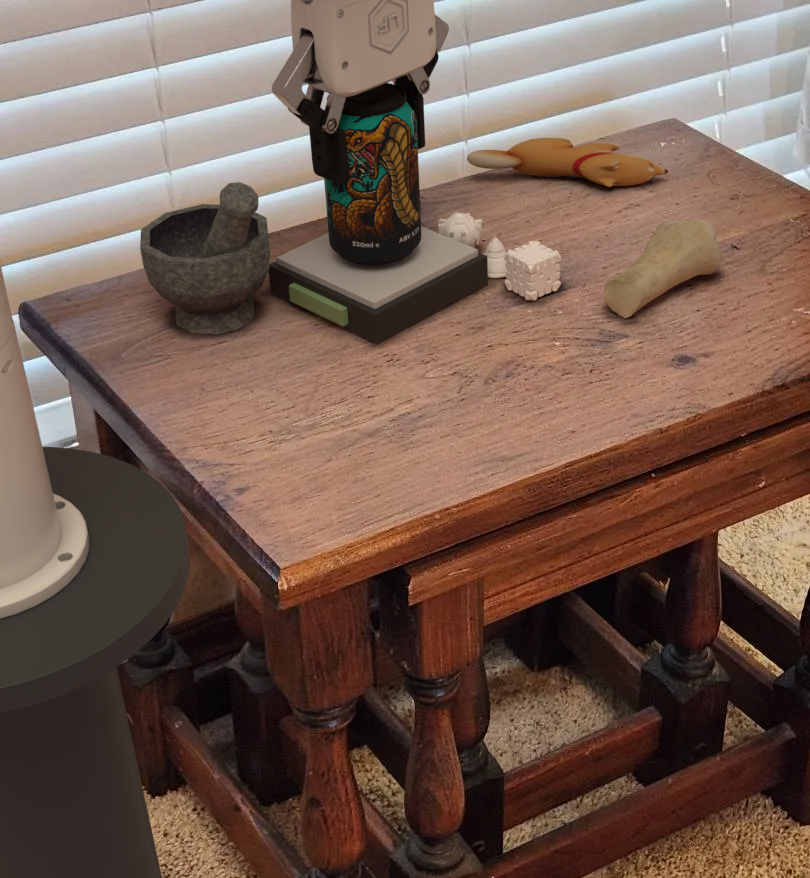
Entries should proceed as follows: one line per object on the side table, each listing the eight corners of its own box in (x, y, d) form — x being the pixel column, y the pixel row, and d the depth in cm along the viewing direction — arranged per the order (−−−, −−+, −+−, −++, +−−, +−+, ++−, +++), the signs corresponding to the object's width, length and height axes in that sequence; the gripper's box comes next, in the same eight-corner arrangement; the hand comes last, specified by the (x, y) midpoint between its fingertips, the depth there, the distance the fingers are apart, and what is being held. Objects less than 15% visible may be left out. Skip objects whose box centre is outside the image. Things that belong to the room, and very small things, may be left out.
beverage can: (380, 278, 115) (371, 122, 107) (311, 253, 118) (297, 101, 111) (440, 242, 119) (435, 90, 112) (371, 219, 123) (362, 71, 115)
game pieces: (562, 290, 119) (562, 252, 117) (529, 304, 118) (529, 266, 116) (463, 238, 127) (462, 201, 125) (431, 250, 126) (430, 214, 124)
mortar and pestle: (128, 315, 119) (102, 168, 112) (224, 272, 124) (206, 129, 117) (216, 367, 113) (195, 214, 105) (315, 319, 118) (301, 171, 110)
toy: (661, 176, 137) (668, 197, 132) (465, 168, 137) (465, 189, 132) (666, 139, 135) (672, 159, 131) (467, 131, 135) (467, 151, 131)
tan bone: (659, 249, 124) (663, 193, 121) (734, 265, 121) (740, 209, 118) (600, 312, 116) (603, 254, 113) (679, 331, 114) (684, 272, 111)
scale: (371, 347, 114) (368, 310, 112) (265, 296, 121) (261, 260, 119) (488, 285, 121) (487, 248, 119) (381, 239, 128) (379, 204, 126)
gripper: (293, -47, 97) (316, 215, 108) (484, -111, 106) (488, 137, 117) (217, -69, 101) (247, 186, 112) (407, -128, 110) (417, 112, 121)
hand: (370, 159), depth 114 cm, fingers closed on beverage can, 7 cm apart
